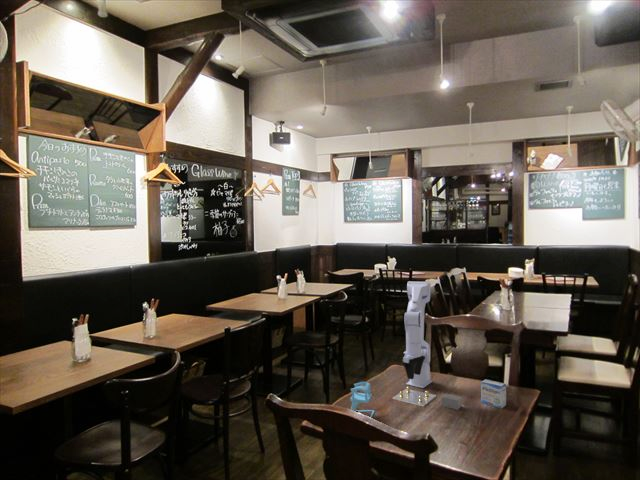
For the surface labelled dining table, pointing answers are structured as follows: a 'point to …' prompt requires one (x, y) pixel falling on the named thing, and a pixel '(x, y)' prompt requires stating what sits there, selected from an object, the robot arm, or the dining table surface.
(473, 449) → the dining table surface
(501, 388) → the medicine box
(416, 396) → the plate with brass knobs
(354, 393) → the chair
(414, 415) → the dining table surface
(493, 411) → the dining table surface
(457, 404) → the plain grey block
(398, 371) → the dining table surface
